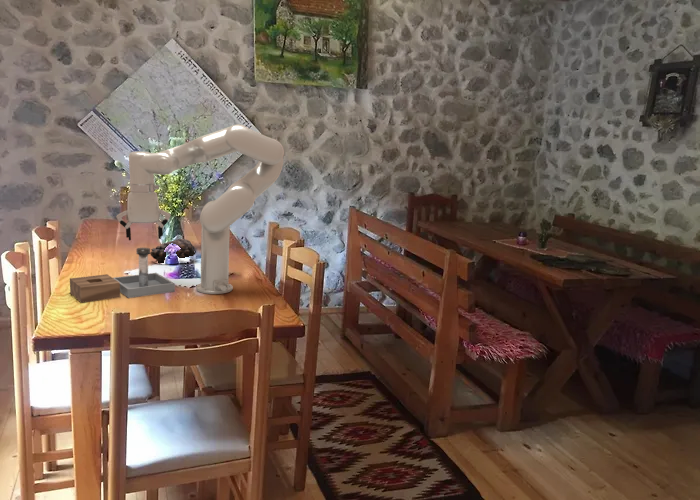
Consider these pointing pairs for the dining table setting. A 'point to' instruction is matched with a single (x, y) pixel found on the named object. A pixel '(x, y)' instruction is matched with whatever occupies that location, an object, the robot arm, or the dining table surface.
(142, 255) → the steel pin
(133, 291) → the grey tray
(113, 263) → the dining table surface
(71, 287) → the walnut block
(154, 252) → the pine cone
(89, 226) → the dining table surface
